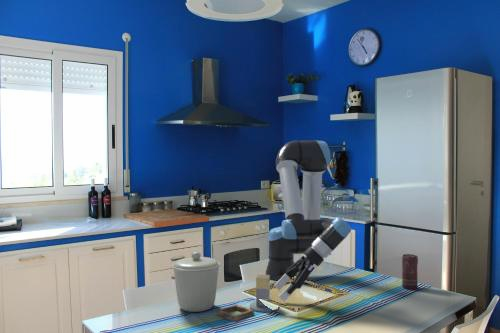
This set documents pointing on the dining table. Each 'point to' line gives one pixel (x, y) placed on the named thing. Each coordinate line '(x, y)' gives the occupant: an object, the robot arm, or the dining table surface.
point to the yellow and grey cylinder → (262, 289)
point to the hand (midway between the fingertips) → (278, 293)
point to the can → (409, 271)
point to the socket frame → (225, 314)
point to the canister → (196, 282)
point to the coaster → (258, 309)
